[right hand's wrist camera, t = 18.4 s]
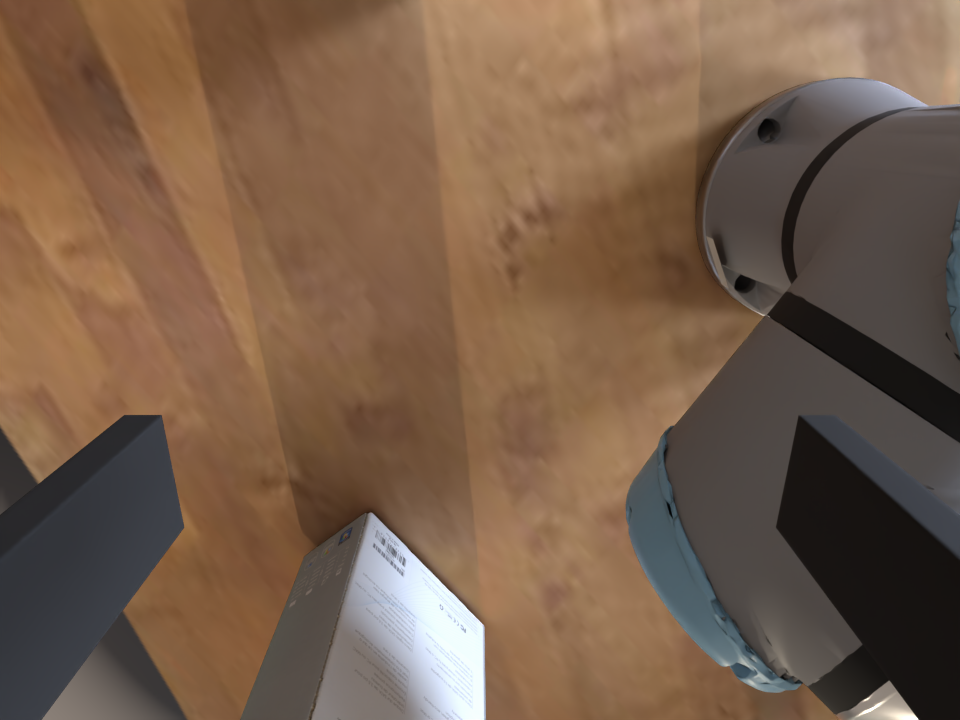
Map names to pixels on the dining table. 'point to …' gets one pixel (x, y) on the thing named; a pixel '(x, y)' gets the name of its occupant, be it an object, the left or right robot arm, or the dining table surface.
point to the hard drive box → (370, 639)
